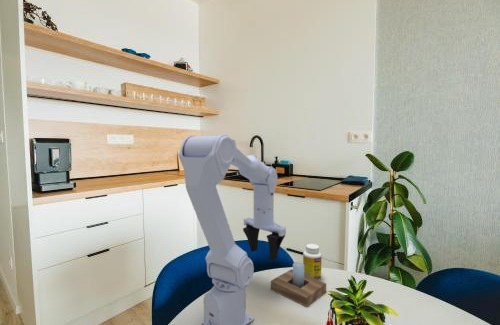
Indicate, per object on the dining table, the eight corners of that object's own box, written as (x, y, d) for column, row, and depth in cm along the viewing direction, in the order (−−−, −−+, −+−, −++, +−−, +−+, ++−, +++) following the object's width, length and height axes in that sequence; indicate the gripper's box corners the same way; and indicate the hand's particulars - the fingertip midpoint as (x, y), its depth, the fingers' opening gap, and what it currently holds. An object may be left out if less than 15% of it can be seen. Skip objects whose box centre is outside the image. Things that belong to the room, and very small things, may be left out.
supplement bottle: (314, 284, 76) (315, 251, 76) (299, 277, 80) (299, 245, 80) (324, 278, 80) (325, 246, 79) (309, 272, 84) (309, 241, 83)
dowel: (300, 293, 71) (300, 268, 70) (290, 288, 73) (290, 264, 73) (306, 288, 73) (306, 264, 73) (296, 284, 75) (296, 261, 75)
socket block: (306, 307, 65) (306, 297, 65) (270, 289, 74) (270, 280, 74) (326, 291, 72) (326, 283, 72) (291, 276, 81) (291, 269, 81)
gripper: (292, 209, 71) (292, 257, 72) (254, 202, 81) (254, 244, 82) (276, 214, 66) (276, 265, 67) (238, 205, 76) (238, 250, 77)
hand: (263, 254), depth 74 cm, fingers open, 7 cm apart
